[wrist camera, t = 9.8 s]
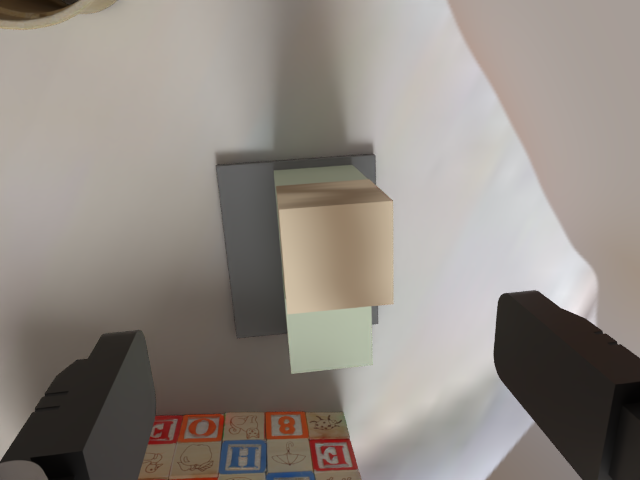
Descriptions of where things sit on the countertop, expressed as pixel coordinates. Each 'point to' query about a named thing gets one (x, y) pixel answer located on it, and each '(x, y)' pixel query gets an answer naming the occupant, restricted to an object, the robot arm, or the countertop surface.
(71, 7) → the flower pot
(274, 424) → the stack of blocks
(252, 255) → the build mat
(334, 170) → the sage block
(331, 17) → the countertop surface
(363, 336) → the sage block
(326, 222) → the maple block
